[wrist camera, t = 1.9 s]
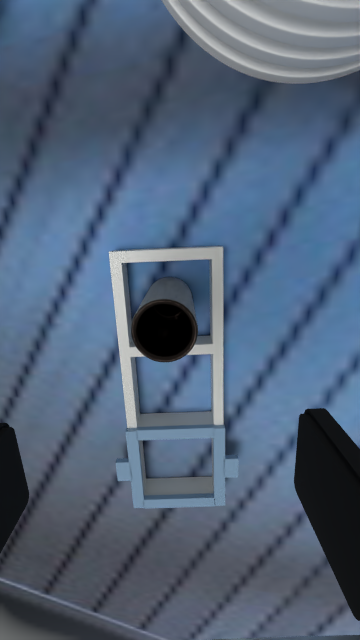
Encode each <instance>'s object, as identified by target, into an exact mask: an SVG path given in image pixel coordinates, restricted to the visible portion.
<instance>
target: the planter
mask: <svg viewBox="0 0 360 640" xmlns="http://www.w3.org/2000/svg"><path fill="white" fill-rule="evenodd" d="M131 336H132V340H133V342H134V344H135V346H136V348H137V349H138V350H139V351H140V352H141V353H142V354H143V355H144V356H146V357H147V358H149V359H151V360H154V361H158V362H172V361H176V360H179V359H181V358H182V357H184V356H185V355H187V354H188V353H189V352H190V351H191V350H192V348H193V347H194V345H195V343H196V340H197V336H198V325H197V319H196V314H195V308H194V303H193V298H192V293H191V291H190V289H189V287H188V286H187V285H186V284H185V283H184V282H183V281H182V280H180V279H178V278H174V277H165V278H161V279H159V280H157V281H156V282H155V283H154V284H153V285H152V286H151V287H150V289H149V290H148V292H147V294H146V296H145V297H144V299H143V301H142V303H141V305H140V306H139V308H138V310H137V312H136V314H135V315H134V318H133V320H132V324H131Z"/></svg>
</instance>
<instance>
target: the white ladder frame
mask: <svg viewBox="0 0 360 640" xmlns="http://www.w3.org/2000/svg"><path fill="white" fill-rule="evenodd" d="M109 258H110V267H111V277H112V286H113V296H114V305H115V314H116V324H117V333H118V343H119V352H120V362H121V371H122V380H123V390H124V399H125V409H126V418H127V429H126V440H127V449H128V458H123V459H117V460H116V469H117V477H118V481H131V486H132V495H133V505H134V508H174V507H206V506H216V505H225V478H228V477H238V455H225V425H223V247H222V246H202V247H179V248H156V249H132V250H114V251H110V252H109ZM203 259H209V276H210V336H197V340H196V343H195V345H194V347H193V348H192V350H191V351H190V352H189V353H188V354H187V355H196V354H211V411H206V412H177V413H149V414H140V406H139V395H138V384H137V373H136V362H135V357H143V356H144V355H143V354H142V353H141V352H140V351H139V350H138V349H137V348H136V346H135V344H134V342H133V340H132V336H131V324H132V318H131V307H130V296H129V285H128V274H127V263H132V262H156V261H179V260H203ZM196 438H212V476H211V477H180V478H149V479H146V472H145V461H144V450H143V440H167V439H196Z"/></svg>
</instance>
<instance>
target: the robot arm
mask: <svg viewBox="0 0 360 640" xmlns="http://www.w3.org/2000/svg"><path fill="white" fill-rule="evenodd" d="M294 484H295V489H296V492H297V495H298V497H299V499H300V501H301V503H302V505H303V508H304V510H305V512H306V514H307V516H308V518H309V521H310V523H311V525H312V527H313V529H314V531H315V534H316V536H317V538H318V540H319V542H320V544H321V546H322V549H323V551H324V553H325V555H326V557H327V559H328V562H329V564H330V566H331V568H332V570H333V572H334V575H335V577H336V579H337V581H338V583H339V585H340V588H341V590H342V592H343V594H344V596H345V598H346V600H347V603H348V605H349V607H350V609H351V611H352V613H353V615H354V617H355V618H356V619H357V620H358V621H360V449H359V448H358V446H357V445H356V444H355V443H354V442H353V441H352V439H351V438H350V437H349V436H348V435H347V433H346V432H345V431H344V430H343V429H342V428H341V426H340V425H339V424H338V423H337V422H336V421H335V419H334V418H333V417H332V416H331V415H330V413H329V412H328V411H327V410H326V409H324V408H320V409H306V410H305V412H304V414H300V416H299V426H298V438H297V451H296V463H295V476H294ZM28 499H29V490H28V486H27V482H26V478H25V473H24V469H23V465H22V460H21V456H20V452H19V448H18V443H17V439H16V435H15V431H14V429H13V428H12V427H10V426H9V425H8V424H7V423H0V553H1V551H2V549H3V547H4V546H5V544H6V542H7V540H8V538H9V536H10V535H11V533H12V531H13V529H14V527H15V525H16V524H17V522H18V520H19V518H20V516H21V515H22V513H23V511H24V509H25V507H26V505H27V503H28ZM214 640H360V635H339V636H292V637H266V638H240V639H214Z"/></svg>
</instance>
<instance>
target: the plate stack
mask: <svg viewBox="0 0 360 640" xmlns="http://www.w3.org/2000/svg"><path fill="white" fill-rule="evenodd" d="M162 2H163V3H164V5H165V6H166V8H167V9H168V11H169V12H170V14H171V15H172V16H173V18H174V19H175V20H176V22H177V23H178V24H179V25H180V26H181V28H182V29H183V30H184V31H185V32H186V33H187V34H188V35H189V36H190V37H191V38H192V39H193V40H194V41H195V42H196V43H197V44H198V45H199V46H200V47H202V48H203V49H204V50H205V51H206V52H208V53H209V54H210V55H212V56H213V57H215V58H216V59H218V60H219V61H221V62H222V63H224V64H226V65H227V66H229V67H231V68H233V69H235V70H237V71H239V72H242V73H244V74H247V75H249V76H252V77H255V78H259V79H263V80H267V81H272V82H279V83H289V84H303V83H315V82H322V81H327V80H331V79H335V78H339V77H342V76H345V75H348V74H351V73H354V72H356V71H358V70H360V0H162Z"/></svg>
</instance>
